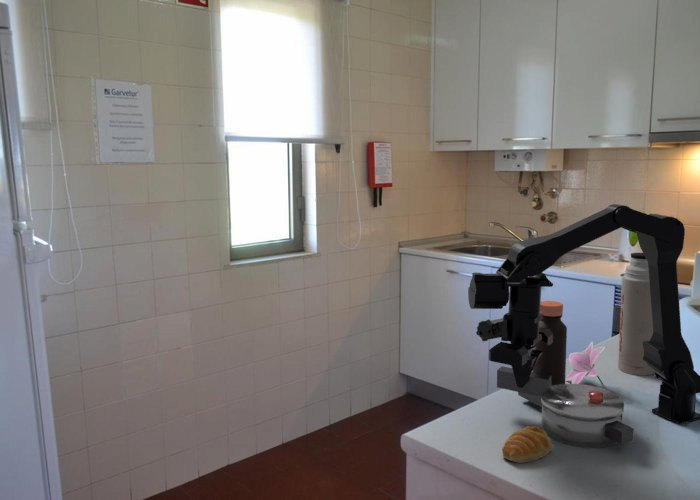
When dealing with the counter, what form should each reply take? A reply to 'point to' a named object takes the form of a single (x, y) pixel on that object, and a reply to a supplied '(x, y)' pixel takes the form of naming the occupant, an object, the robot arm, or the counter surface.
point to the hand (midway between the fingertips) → (520, 387)
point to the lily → (584, 364)
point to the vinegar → (555, 353)
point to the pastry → (527, 445)
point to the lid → (566, 396)
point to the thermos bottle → (635, 317)
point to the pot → (582, 428)
